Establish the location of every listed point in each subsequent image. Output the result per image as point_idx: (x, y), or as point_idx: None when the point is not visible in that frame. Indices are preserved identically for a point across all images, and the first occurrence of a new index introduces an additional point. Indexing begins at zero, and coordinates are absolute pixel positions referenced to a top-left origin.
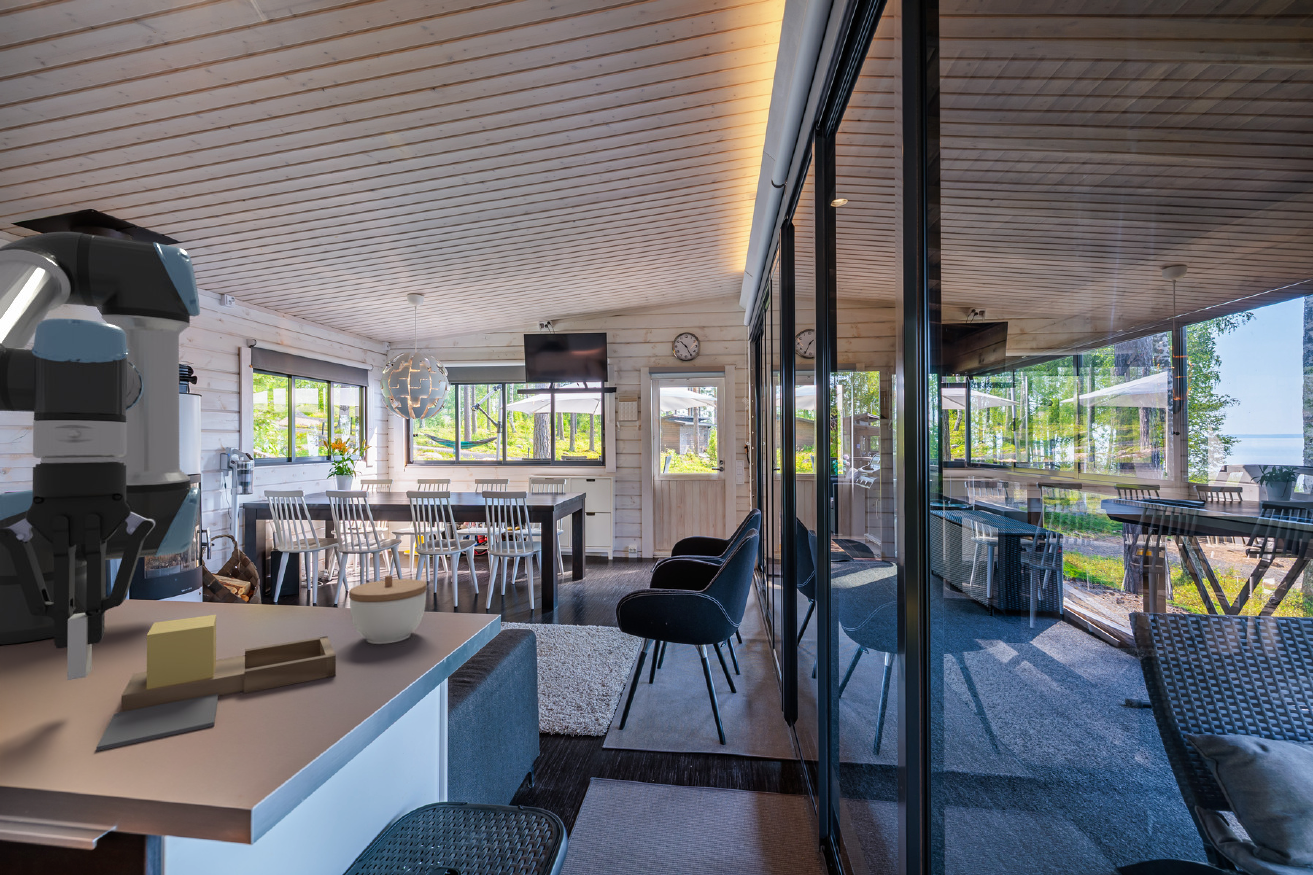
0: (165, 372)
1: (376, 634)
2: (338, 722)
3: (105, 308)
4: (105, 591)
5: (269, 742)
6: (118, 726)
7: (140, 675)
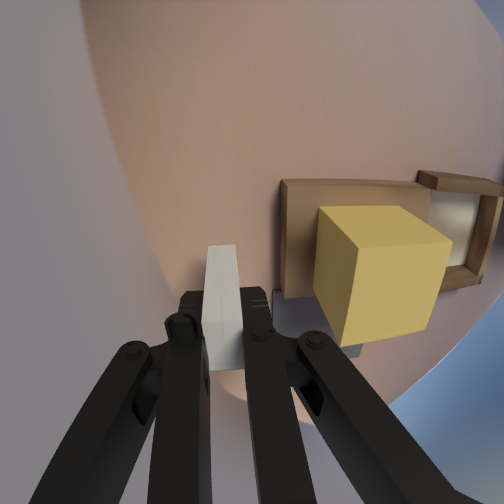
0: None
1: None
2: (417, 372)
3: None
4: (284, 365)
5: (377, 387)
6: (283, 334)
7: (299, 206)
